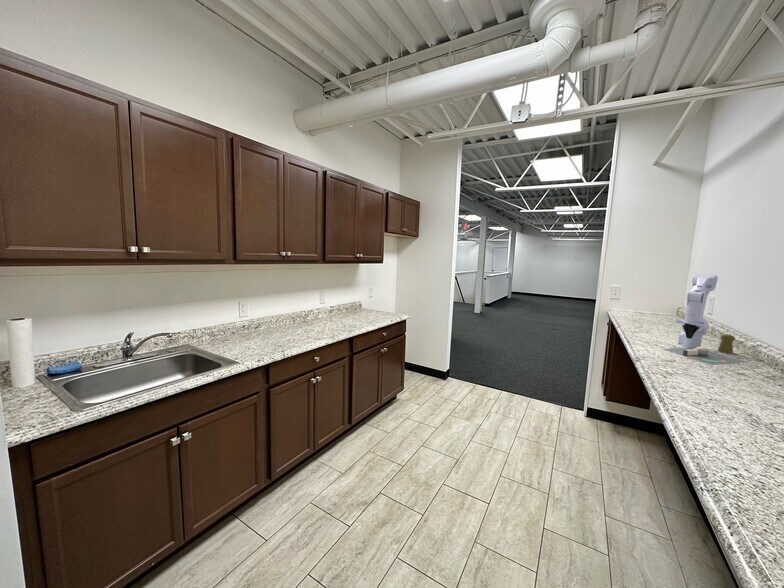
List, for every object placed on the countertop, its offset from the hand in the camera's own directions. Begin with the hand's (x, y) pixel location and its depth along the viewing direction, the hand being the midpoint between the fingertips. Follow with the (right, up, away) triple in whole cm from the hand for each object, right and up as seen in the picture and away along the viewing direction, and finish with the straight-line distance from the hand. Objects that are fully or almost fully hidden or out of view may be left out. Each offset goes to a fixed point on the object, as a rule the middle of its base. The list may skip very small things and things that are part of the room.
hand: (688, 338), depth 167 cm
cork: (+24, -10, +4) cm, 26 cm away
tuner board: (+5, -10, -2) cm, 11 cm away
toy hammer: (0, -8, -2) cm, 9 cm away
